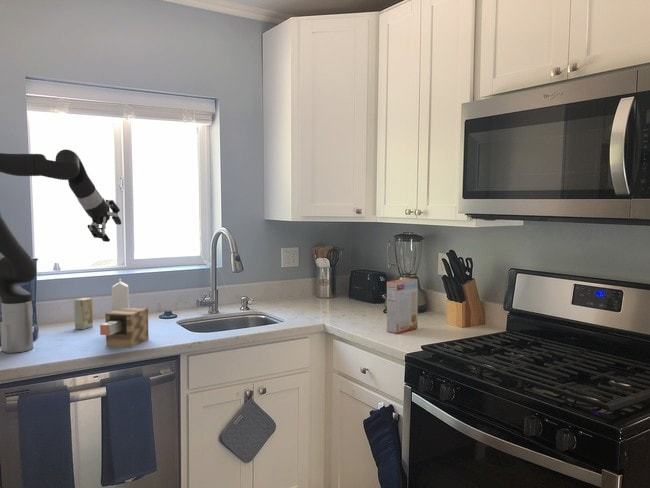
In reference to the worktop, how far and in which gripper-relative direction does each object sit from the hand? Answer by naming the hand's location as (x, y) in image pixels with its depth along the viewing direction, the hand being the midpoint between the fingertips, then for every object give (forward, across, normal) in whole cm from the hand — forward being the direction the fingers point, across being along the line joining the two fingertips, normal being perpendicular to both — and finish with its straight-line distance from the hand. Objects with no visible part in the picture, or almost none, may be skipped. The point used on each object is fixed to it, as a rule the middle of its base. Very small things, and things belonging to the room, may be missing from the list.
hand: (113, 232), depth 200 cm
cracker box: (+62, -13, +101) cm, 119 cm away
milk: (+39, +20, -5) cm, 44 cm away
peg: (+20, +29, +8) cm, 36 cm away
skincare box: (+42, +19, -26) cm, 53 cm away
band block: (+30, +28, +7) cm, 41 cm away
